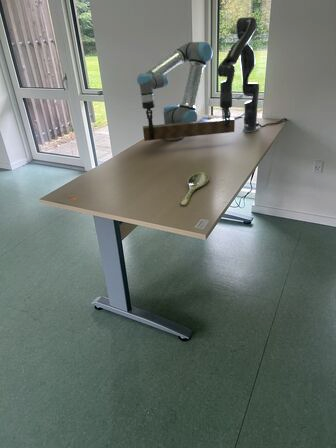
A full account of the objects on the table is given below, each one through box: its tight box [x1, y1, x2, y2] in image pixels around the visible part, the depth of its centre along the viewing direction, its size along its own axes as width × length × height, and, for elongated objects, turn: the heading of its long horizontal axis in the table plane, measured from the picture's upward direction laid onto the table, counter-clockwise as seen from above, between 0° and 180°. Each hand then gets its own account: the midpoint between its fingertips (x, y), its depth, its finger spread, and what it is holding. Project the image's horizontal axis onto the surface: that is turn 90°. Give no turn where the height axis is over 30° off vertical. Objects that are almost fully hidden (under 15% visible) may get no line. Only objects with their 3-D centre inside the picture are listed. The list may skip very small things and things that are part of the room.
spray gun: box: [197, 115, 217, 121], centre depth 272 cm, size 21×4×15 cm
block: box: [142, 117, 236, 142], centre depth 218 cm, size 59×5×8 cm, turn 95°
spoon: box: [180, 171, 210, 207], centre depth 170 cm, size 35×11×2 cm, turn 159°
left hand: (152, 138), depth 219 cm, fingers closed on block, 5 cm apart
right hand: (225, 126), depth 219 cm, fingers closed on block, 5 cm apart
